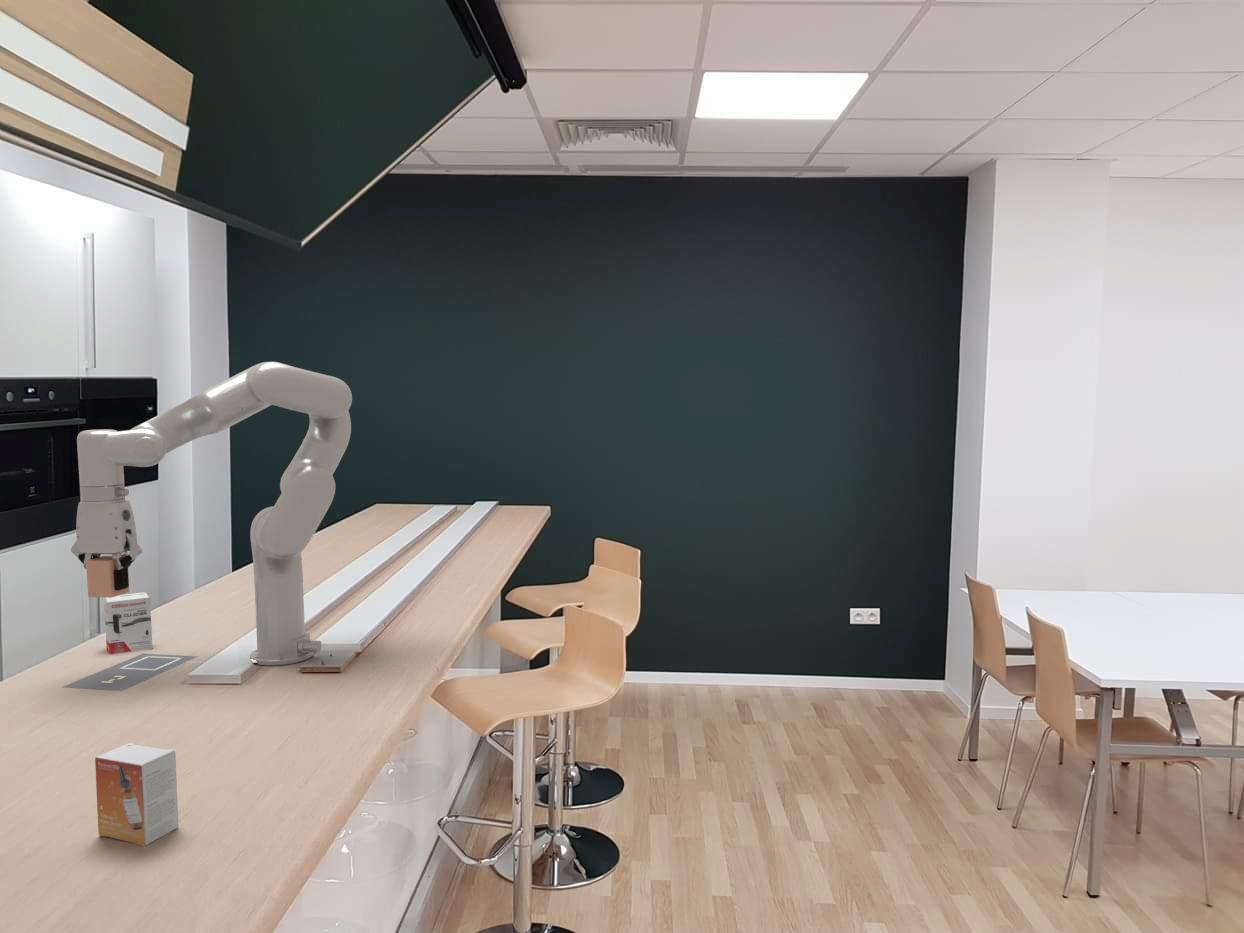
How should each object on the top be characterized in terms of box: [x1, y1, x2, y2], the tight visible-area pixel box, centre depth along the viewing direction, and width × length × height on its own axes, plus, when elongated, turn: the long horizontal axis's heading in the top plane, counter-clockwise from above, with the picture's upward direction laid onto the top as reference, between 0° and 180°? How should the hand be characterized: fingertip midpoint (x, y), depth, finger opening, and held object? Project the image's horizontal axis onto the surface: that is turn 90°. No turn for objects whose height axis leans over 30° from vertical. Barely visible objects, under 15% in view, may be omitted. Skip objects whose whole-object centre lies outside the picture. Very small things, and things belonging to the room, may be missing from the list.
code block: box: [85, 555, 130, 598], centre depth 190 cm, size 5×5×7 cm
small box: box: [94, 742, 179, 847], centre depth 127 cm, size 8×6×10 cm
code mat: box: [62, 653, 198, 692], centre depth 197 cm, size 13×23×1 cm, turn 168°
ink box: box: [103, 591, 153, 655], centre depth 213 cm, size 8×5×12 cm, turn 123°
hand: (108, 587), depth 190 cm, fingers closed on code block, 5 cm apart
